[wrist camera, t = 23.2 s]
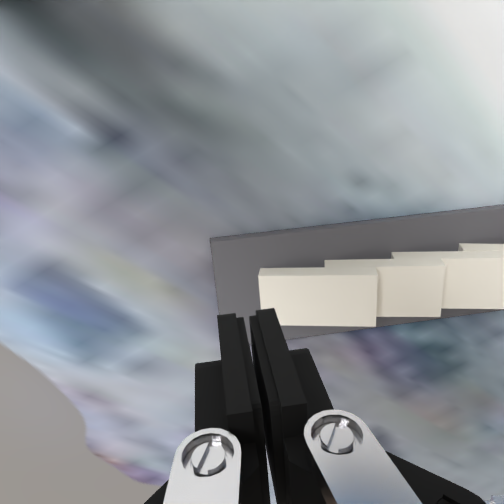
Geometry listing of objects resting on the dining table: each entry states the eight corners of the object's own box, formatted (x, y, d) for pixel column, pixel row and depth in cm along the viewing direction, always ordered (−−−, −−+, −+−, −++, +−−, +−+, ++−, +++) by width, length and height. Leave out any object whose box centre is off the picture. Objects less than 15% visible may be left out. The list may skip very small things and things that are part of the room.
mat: (222, 342, 42) (223, 348, 41) (209, 238, 37) (210, 242, 37) (508, 303, 44) (514, 308, 43) (526, 201, 40) (534, 204, 39)
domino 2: (325, 316, 39) (440, 317, 37) (324, 267, 37) (445, 265, 35) (325, 307, 40) (435, 307, 39) (324, 260, 39) (440, 258, 37)
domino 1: (262, 325, 39) (375, 326, 37) (258, 275, 37) (377, 275, 35) (264, 315, 40) (373, 316, 38) (260, 268, 38) (375, 267, 36)
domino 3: (391, 307, 40) (507, 309, 38) (394, 258, 38) (517, 258, 36) (388, 299, 41) (501, 300, 39) (391, 251, 39) (509, 250, 37)
